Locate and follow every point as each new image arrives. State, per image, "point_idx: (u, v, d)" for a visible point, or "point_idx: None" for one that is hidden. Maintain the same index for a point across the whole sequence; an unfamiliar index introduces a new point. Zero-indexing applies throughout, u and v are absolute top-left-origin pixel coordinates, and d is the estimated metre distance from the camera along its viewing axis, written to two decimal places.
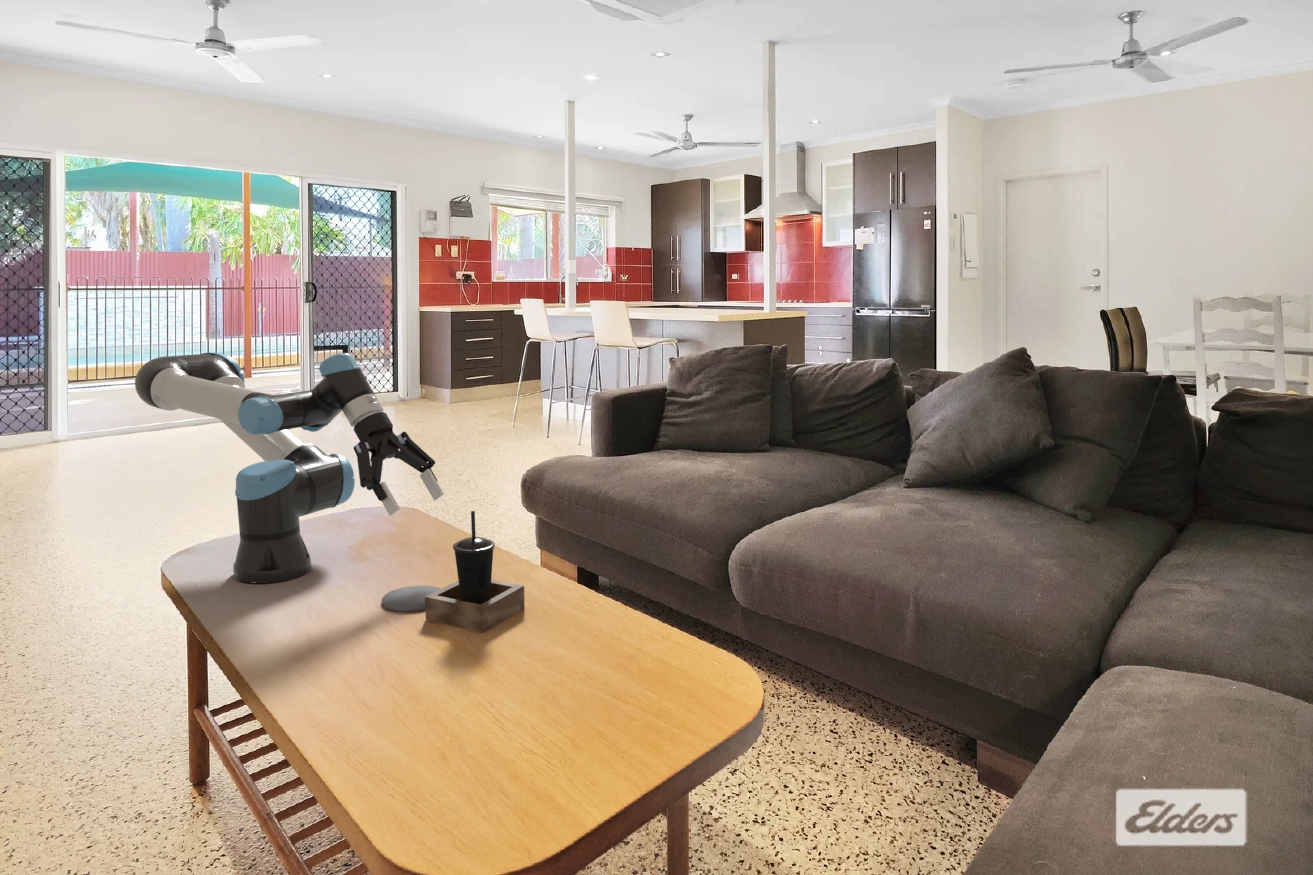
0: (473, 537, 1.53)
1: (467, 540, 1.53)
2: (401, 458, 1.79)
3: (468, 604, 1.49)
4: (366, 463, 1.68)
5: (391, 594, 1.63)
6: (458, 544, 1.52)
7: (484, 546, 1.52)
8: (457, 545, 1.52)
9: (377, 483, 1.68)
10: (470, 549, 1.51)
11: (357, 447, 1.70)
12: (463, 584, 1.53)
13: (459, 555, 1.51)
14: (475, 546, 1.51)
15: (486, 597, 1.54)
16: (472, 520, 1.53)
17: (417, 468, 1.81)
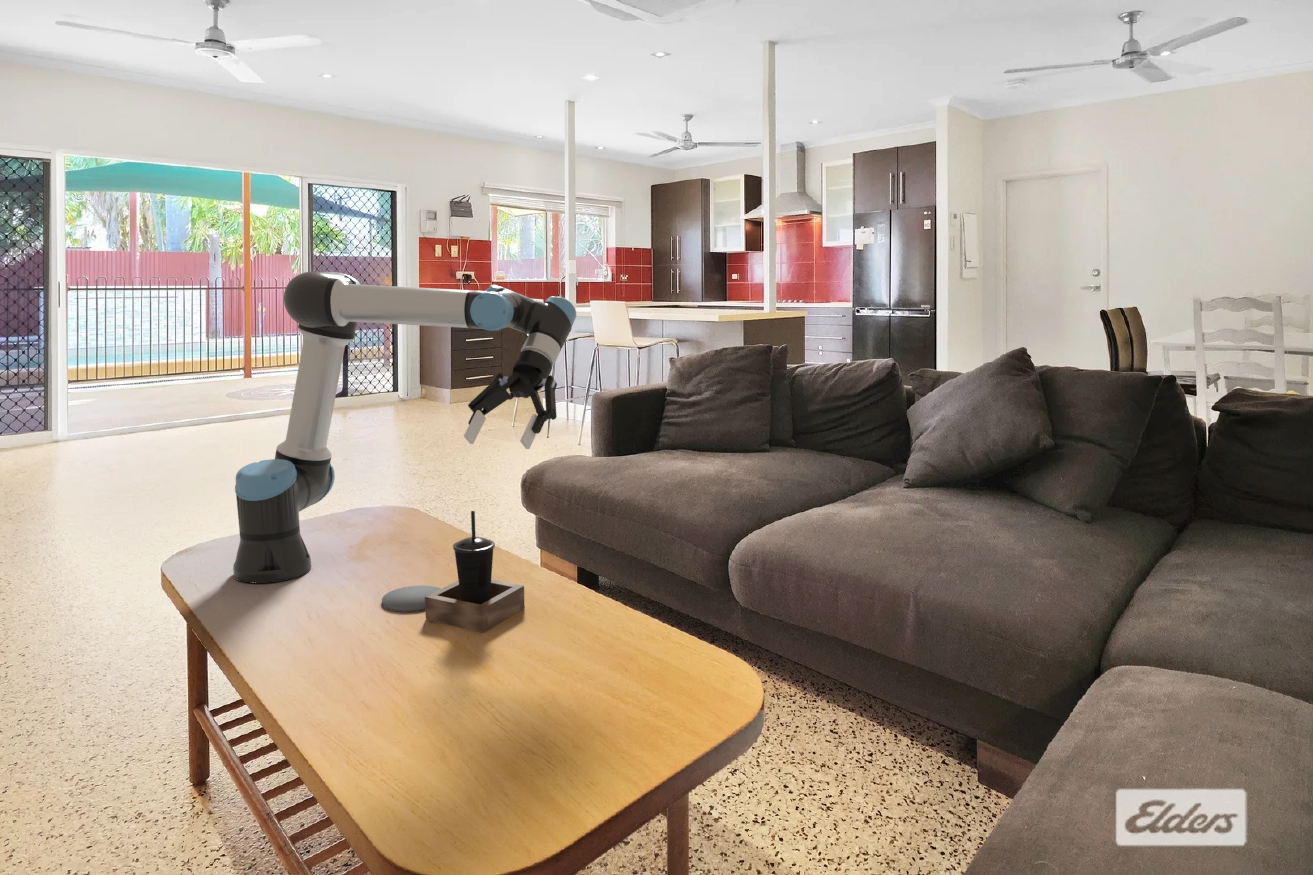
0: (473, 537, 1.53)
1: (467, 540, 1.53)
2: (501, 394, 1.69)
3: (468, 604, 1.49)
4: None
5: (391, 594, 1.63)
6: (458, 544, 1.52)
7: (484, 546, 1.52)
8: (457, 545, 1.52)
9: None
10: (470, 549, 1.51)
11: (554, 382, 1.68)
12: (463, 584, 1.53)
13: (459, 555, 1.51)
14: (475, 546, 1.51)
15: (486, 597, 1.54)
16: (472, 520, 1.53)
17: (484, 406, 1.69)
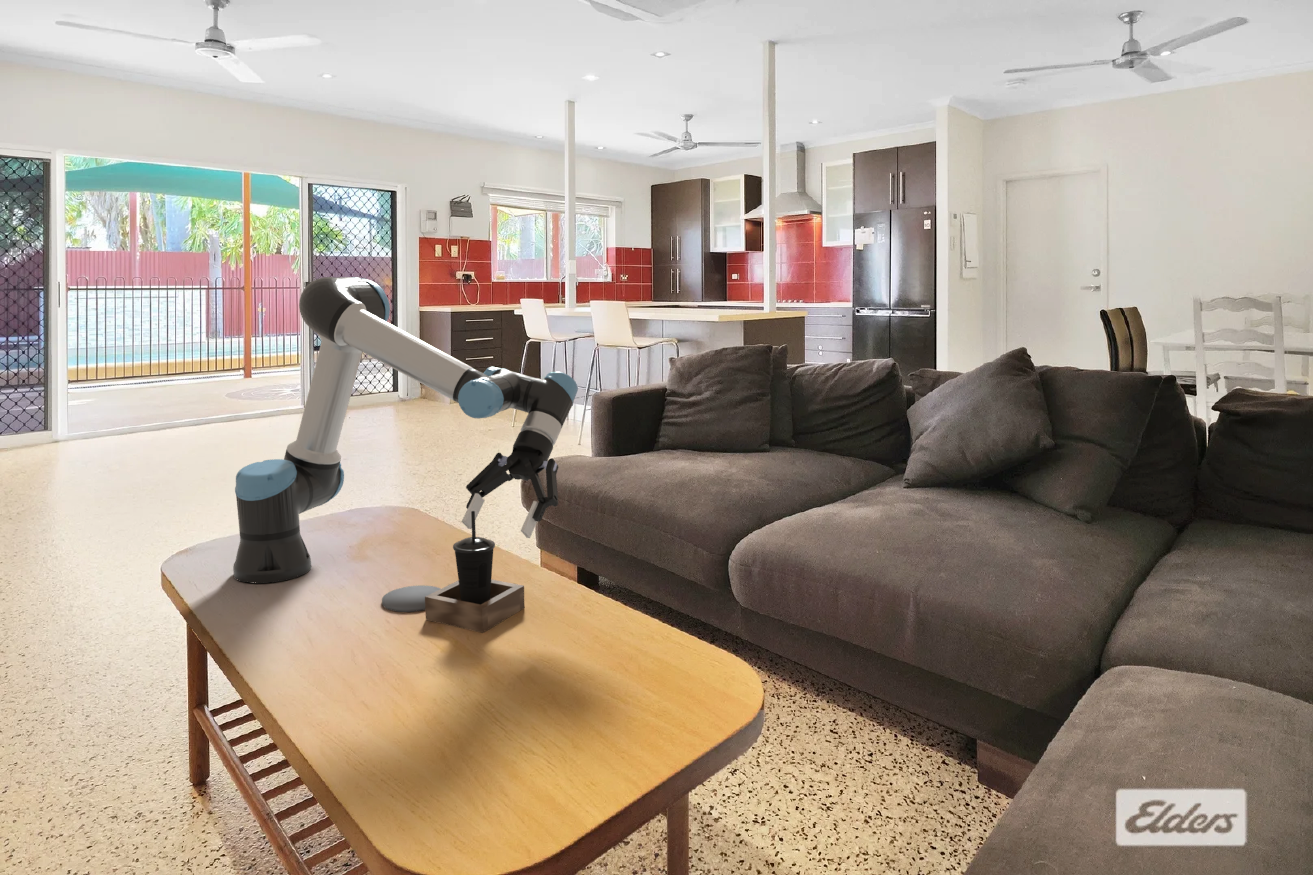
0: (473, 537, 1.53)
1: (467, 540, 1.53)
2: (501, 476, 1.64)
3: (468, 604, 1.49)
4: None
5: (391, 594, 1.63)
6: (458, 544, 1.52)
7: (484, 546, 1.52)
8: (457, 545, 1.52)
9: None
10: (470, 549, 1.51)
11: (555, 465, 1.62)
12: (463, 584, 1.53)
13: (460, 555, 1.51)
14: (475, 546, 1.51)
15: (486, 597, 1.54)
16: (472, 520, 1.53)
17: (483, 488, 1.64)
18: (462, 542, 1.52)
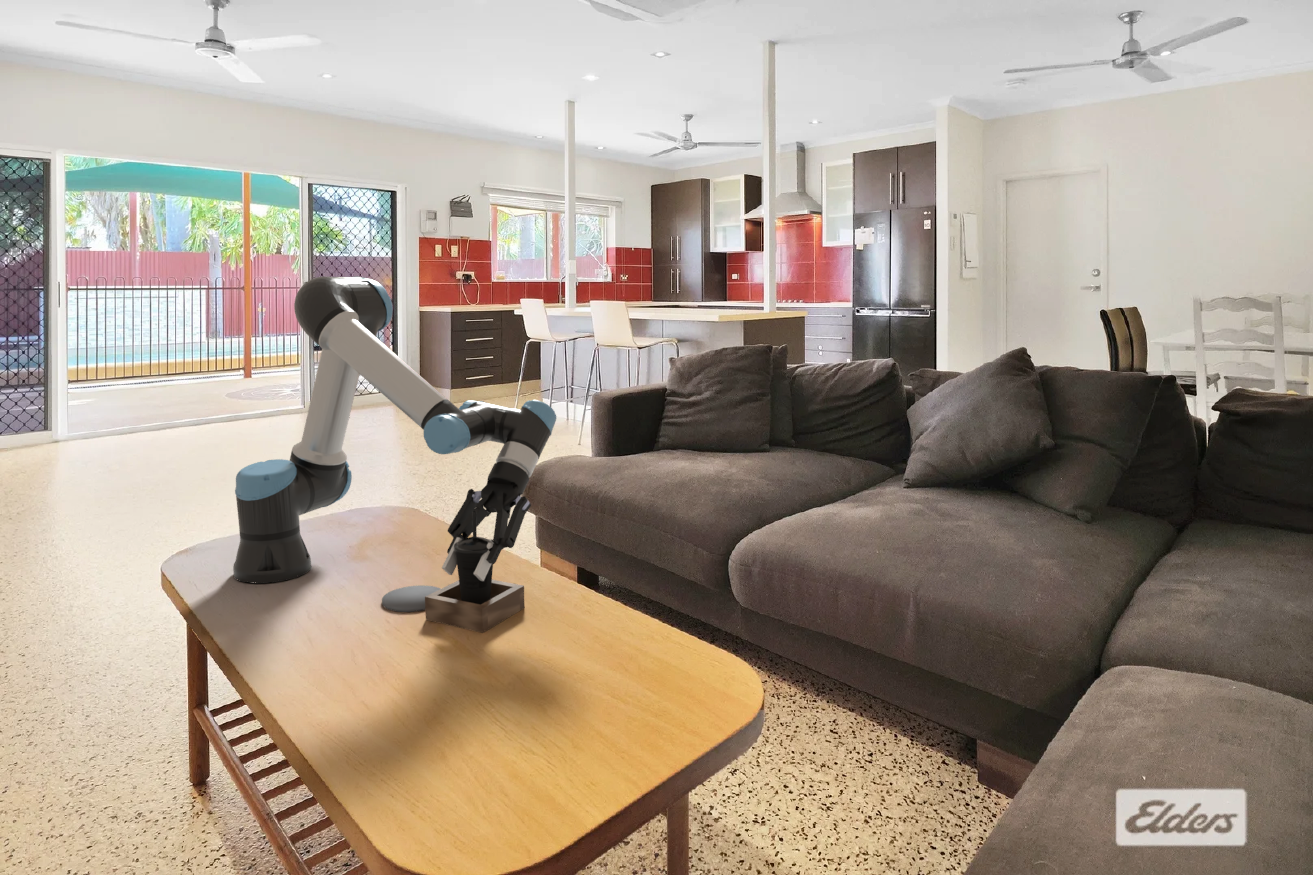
0: (474, 537, 1.53)
1: (468, 540, 1.52)
2: (479, 513, 1.58)
3: (468, 604, 1.49)
4: None
5: (391, 594, 1.63)
6: (459, 544, 1.52)
7: (485, 546, 1.52)
8: (458, 545, 1.52)
9: None
10: (471, 549, 1.50)
11: (526, 504, 1.57)
12: (463, 584, 1.53)
13: (460, 555, 1.51)
14: (476, 546, 1.51)
15: (487, 597, 1.54)
16: (473, 520, 1.52)
17: (465, 530, 1.57)
18: (463, 542, 1.52)
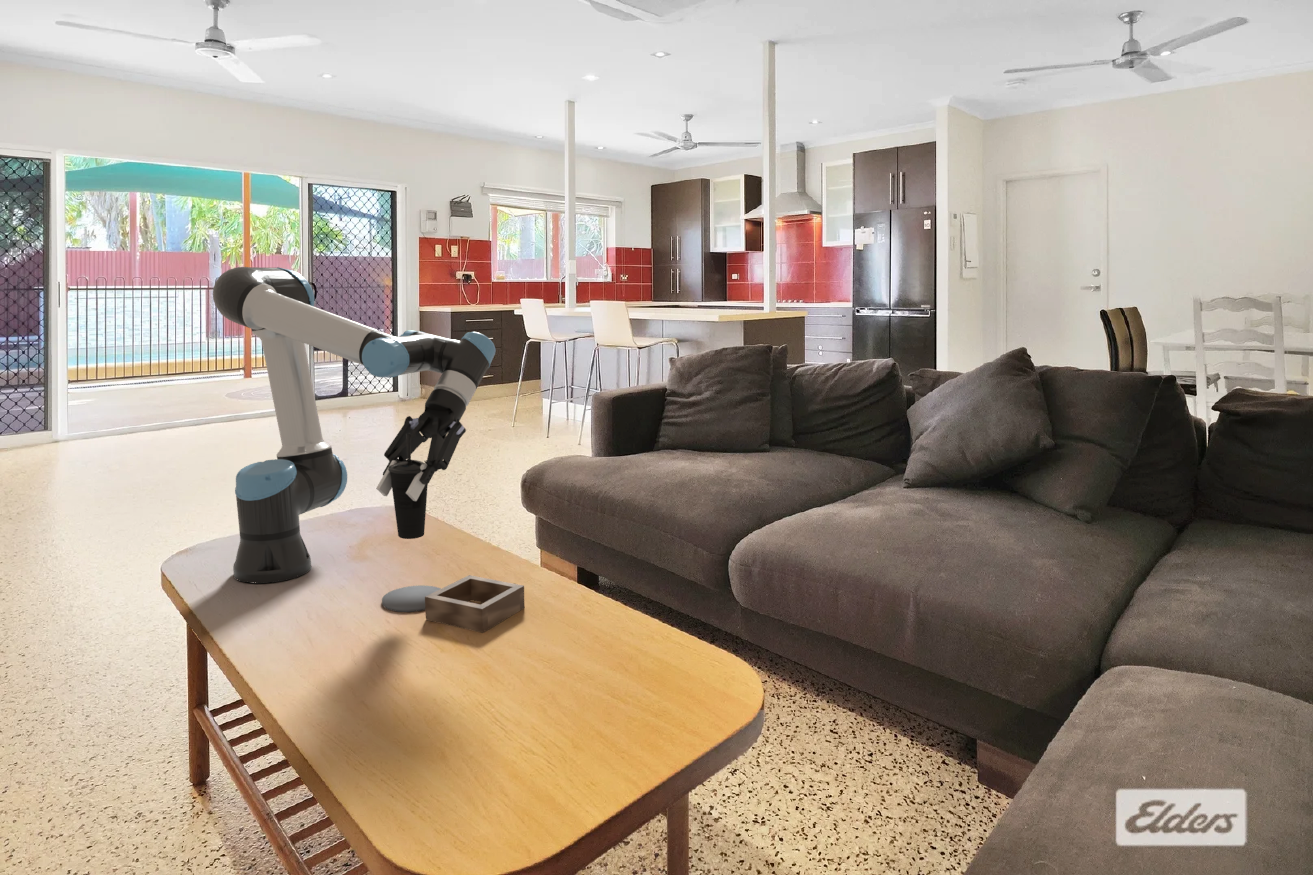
0: (408, 459, 1.57)
1: (402, 462, 1.56)
2: (415, 438, 1.62)
3: (468, 604, 1.49)
4: None
5: (391, 594, 1.63)
6: (393, 465, 1.56)
7: (418, 468, 1.56)
8: (392, 466, 1.56)
9: None
10: (404, 469, 1.54)
11: (461, 429, 1.61)
12: (397, 505, 1.57)
13: (394, 475, 1.55)
14: (409, 467, 1.55)
15: (421, 519, 1.58)
16: (407, 442, 1.56)
17: (400, 454, 1.60)
18: (397, 463, 1.56)
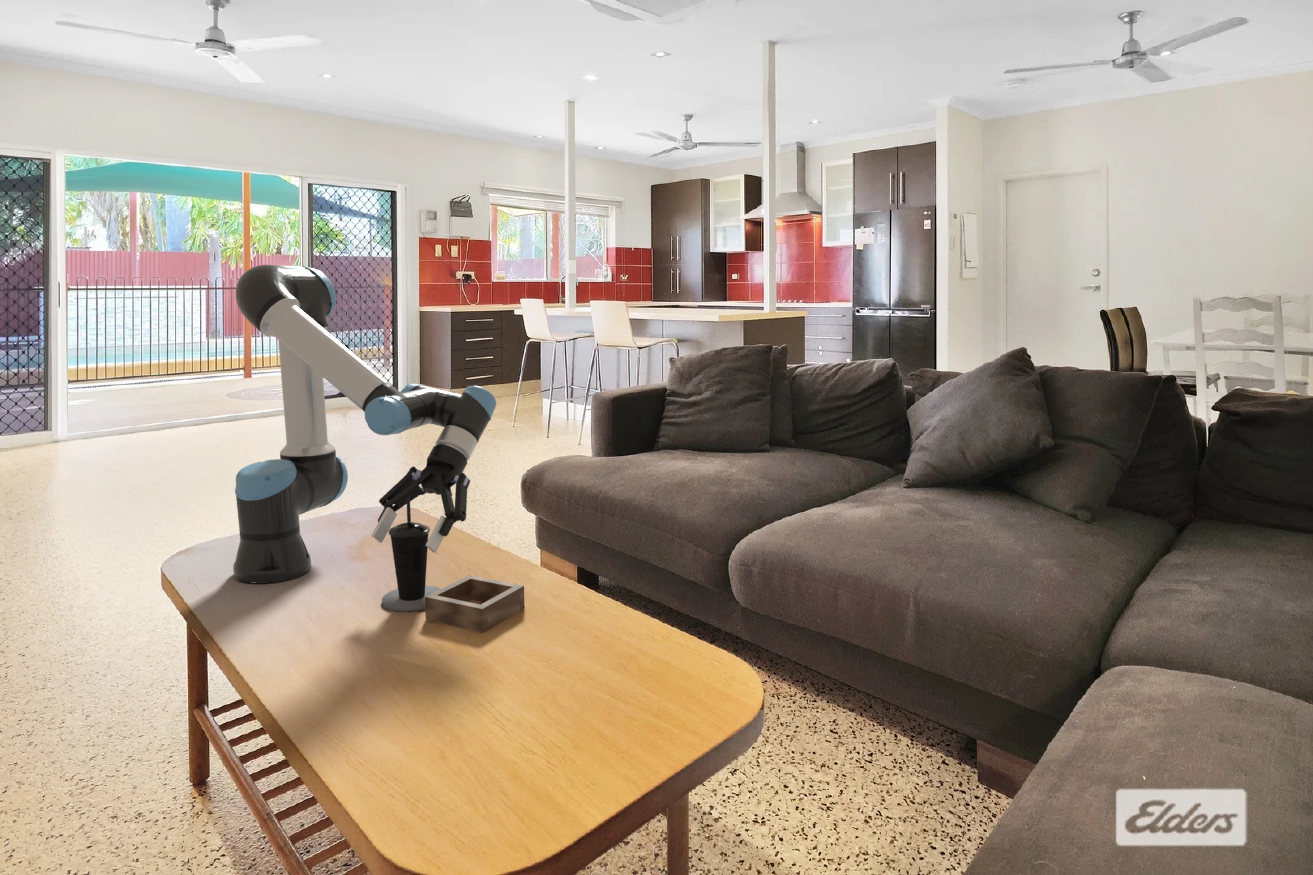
0: (408, 522, 1.59)
1: (402, 525, 1.59)
2: (413, 490, 1.65)
3: (468, 604, 1.49)
4: None
5: (391, 594, 1.63)
6: (394, 529, 1.58)
7: (419, 531, 1.58)
8: (393, 530, 1.58)
9: None
10: (405, 533, 1.57)
11: (466, 479, 1.63)
12: (398, 568, 1.59)
13: (395, 539, 1.57)
14: (410, 531, 1.57)
15: (421, 580, 1.60)
16: (407, 506, 1.59)
17: (395, 502, 1.64)
18: (397, 527, 1.59)
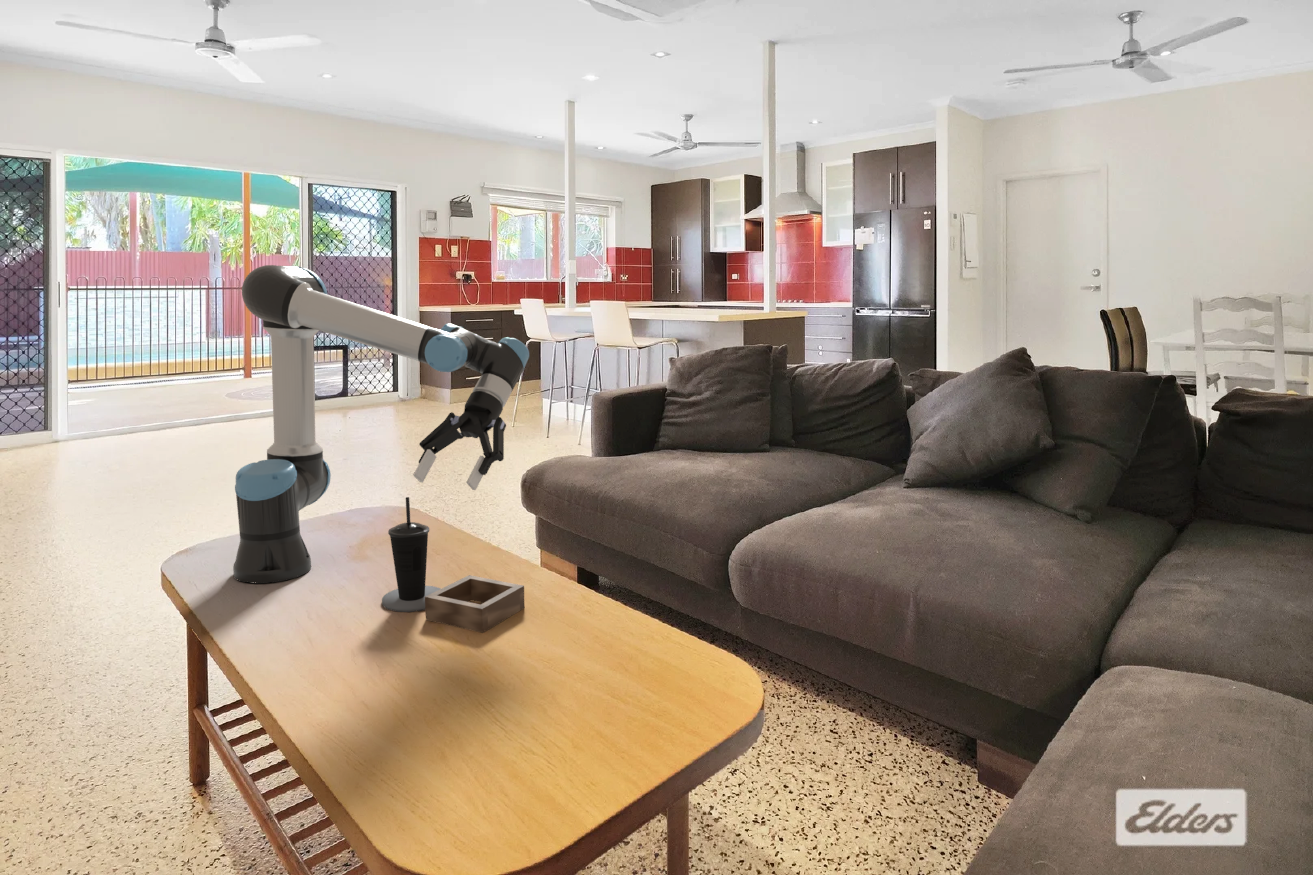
0: (408, 522, 1.59)
1: (402, 525, 1.59)
2: (452, 434, 1.74)
3: (468, 604, 1.49)
4: None
5: (391, 594, 1.63)
6: (393, 529, 1.59)
7: (418, 531, 1.58)
8: (392, 530, 1.58)
9: None
10: (404, 533, 1.57)
11: (503, 423, 1.72)
12: (398, 568, 1.59)
13: (394, 539, 1.57)
14: (409, 531, 1.57)
15: (421, 580, 1.60)
16: (407, 506, 1.59)
17: (435, 445, 1.73)
18: (397, 527, 1.59)
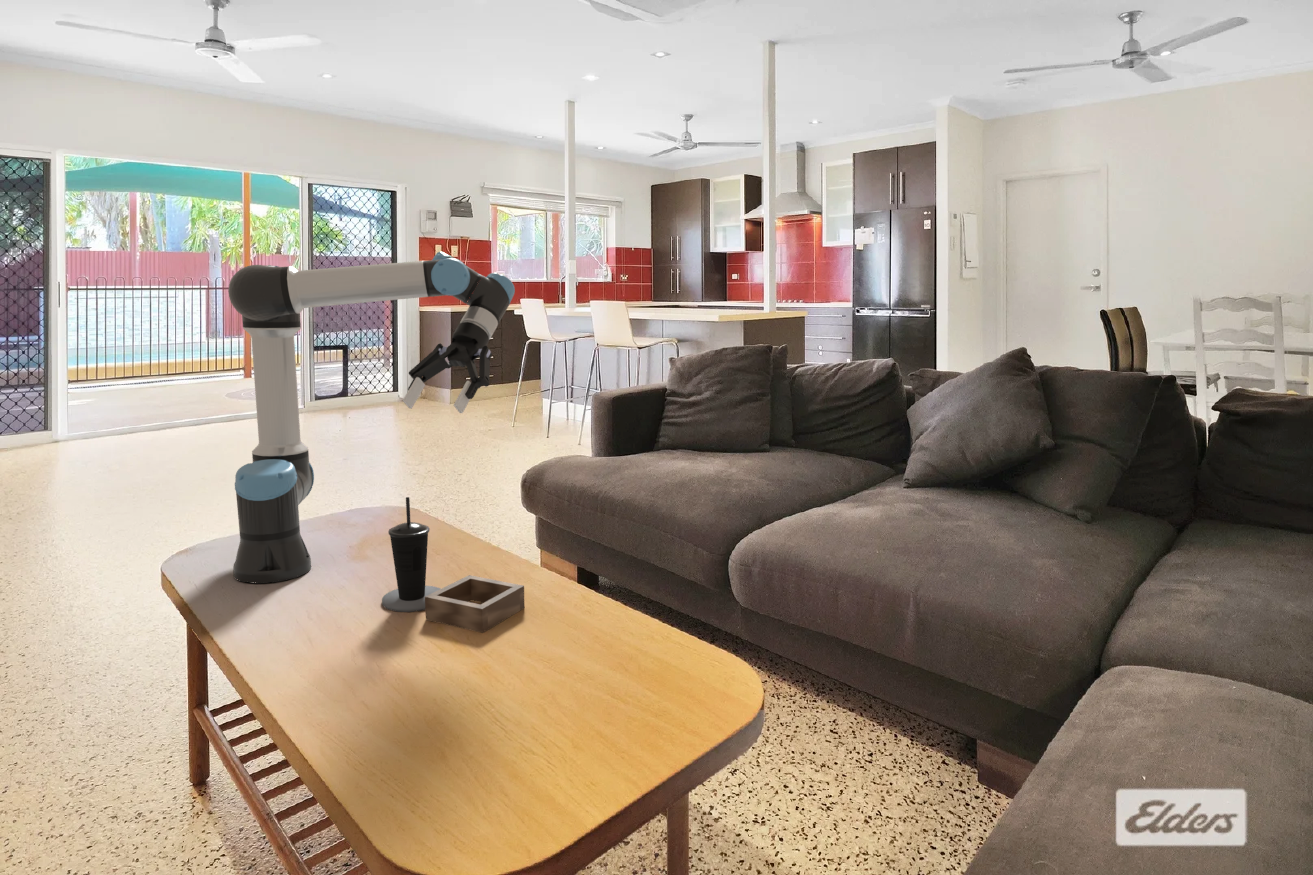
0: (408, 522, 1.59)
1: (402, 525, 1.59)
2: (440, 363, 1.81)
3: (468, 604, 1.49)
4: None
5: (391, 594, 1.63)
6: (393, 529, 1.58)
7: (418, 531, 1.58)
8: (392, 530, 1.58)
9: (478, 387, 1.75)
10: (404, 533, 1.57)
11: (489, 352, 1.79)
12: (398, 568, 1.59)
13: (394, 539, 1.57)
14: (409, 531, 1.57)
15: (421, 580, 1.60)
16: (407, 506, 1.59)
17: (424, 374, 1.80)
18: (397, 527, 1.59)
